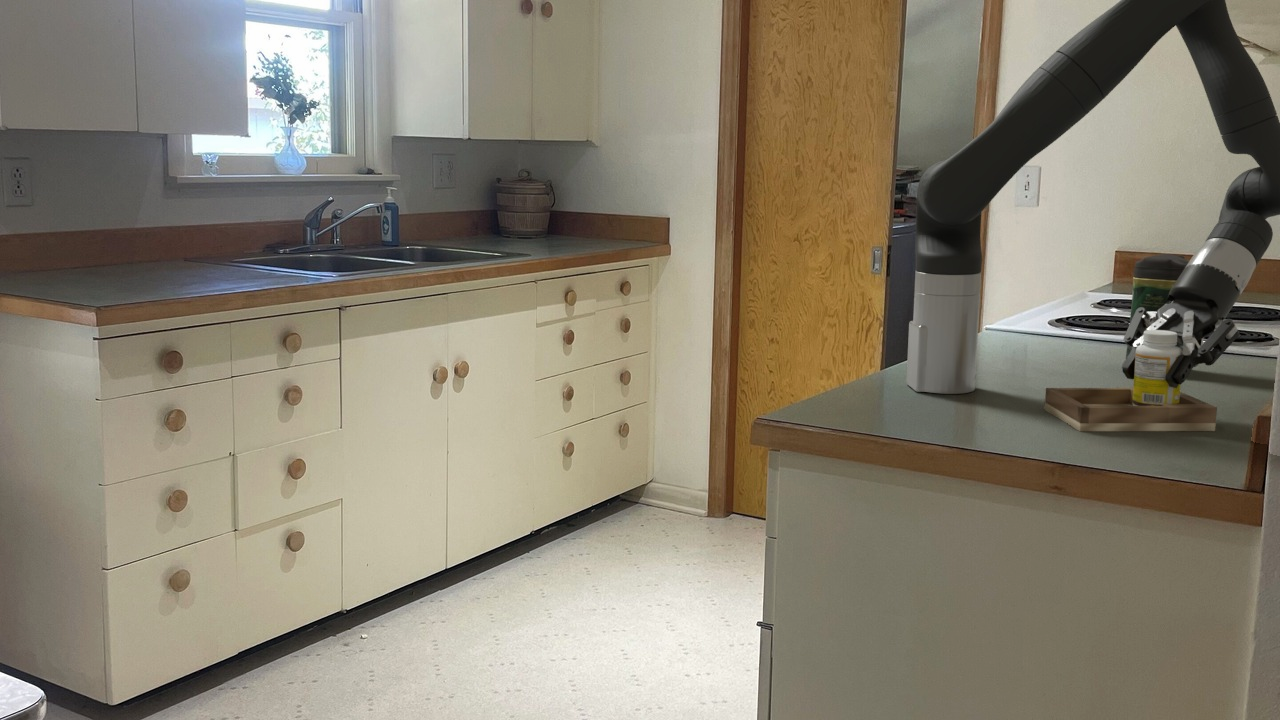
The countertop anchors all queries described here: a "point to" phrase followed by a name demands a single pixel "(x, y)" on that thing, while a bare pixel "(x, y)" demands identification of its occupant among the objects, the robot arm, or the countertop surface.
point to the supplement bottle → (1155, 369)
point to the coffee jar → (1155, 282)
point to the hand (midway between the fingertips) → (1148, 379)
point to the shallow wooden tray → (1126, 411)
